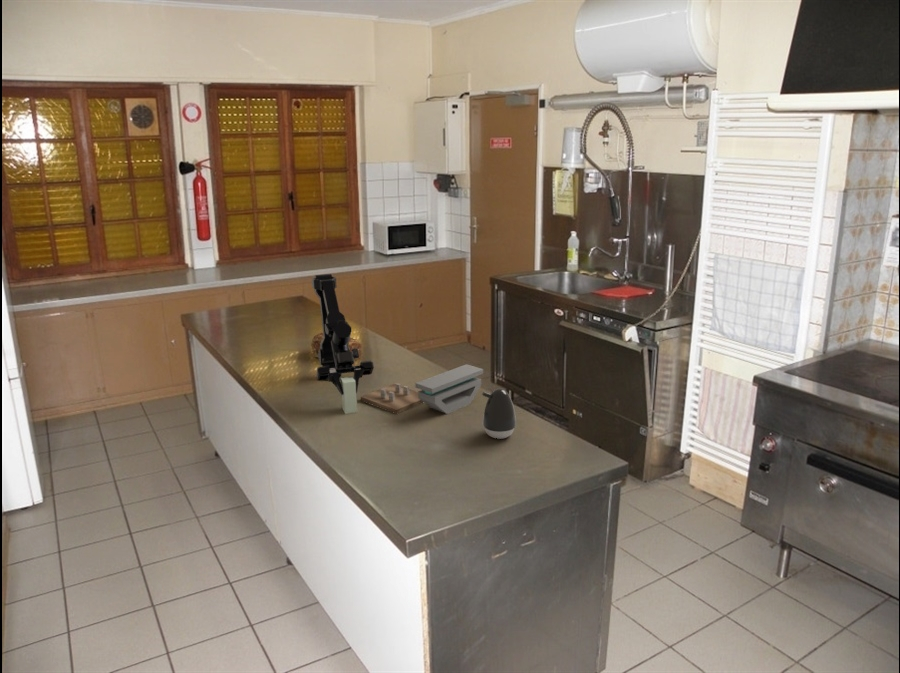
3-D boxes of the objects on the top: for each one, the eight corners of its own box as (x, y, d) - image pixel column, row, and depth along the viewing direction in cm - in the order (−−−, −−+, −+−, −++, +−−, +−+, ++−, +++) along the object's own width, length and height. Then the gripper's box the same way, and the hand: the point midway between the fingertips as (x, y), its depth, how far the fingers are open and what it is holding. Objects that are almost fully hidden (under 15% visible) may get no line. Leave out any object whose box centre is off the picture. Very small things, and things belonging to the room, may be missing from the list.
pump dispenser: (479, 429, 218) (480, 383, 214) (512, 427, 219) (513, 382, 215) (484, 443, 209) (484, 396, 204) (518, 441, 209) (519, 394, 205)
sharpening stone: (432, 420, 225) (432, 388, 222) (416, 413, 230) (415, 383, 227) (483, 398, 242) (483, 369, 239) (466, 392, 248) (466, 364, 244)
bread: (311, 358, 286) (309, 335, 283) (328, 351, 295) (327, 328, 292) (346, 365, 276) (345, 342, 274) (363, 358, 285) (362, 335, 282)
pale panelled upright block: (353, 406, 237) (352, 375, 233) (357, 412, 232) (355, 381, 228) (342, 407, 235) (340, 377, 232) (345, 413, 230) (343, 383, 227)
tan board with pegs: (396, 414, 230) (396, 401, 229) (360, 400, 241) (360, 388, 240) (429, 400, 241) (429, 387, 240) (393, 387, 253) (393, 376, 251)
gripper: (315, 343, 227) (323, 386, 220) (371, 337, 233) (380, 379, 226) (313, 359, 236) (320, 401, 230) (367, 353, 242) (375, 393, 236)
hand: (349, 393), depth 230 cm, fingers open, 4 cm apart
